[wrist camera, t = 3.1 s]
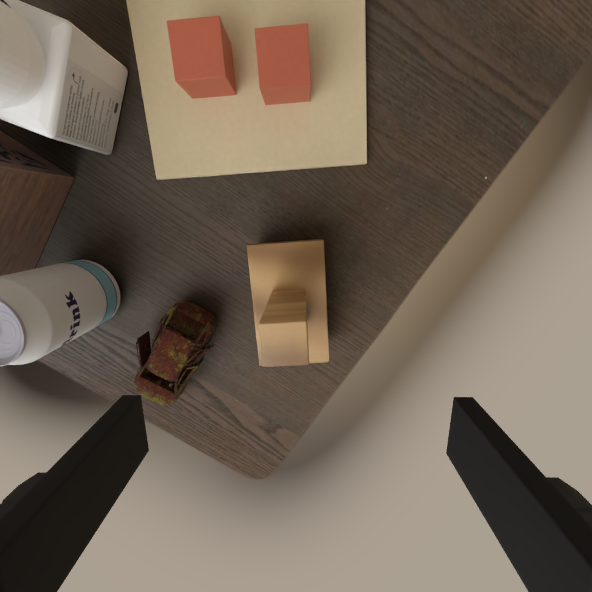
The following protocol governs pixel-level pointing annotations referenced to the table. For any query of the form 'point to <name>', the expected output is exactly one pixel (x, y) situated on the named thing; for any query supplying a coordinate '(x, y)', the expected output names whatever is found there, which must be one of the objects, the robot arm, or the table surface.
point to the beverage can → (52, 307)
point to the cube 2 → (283, 63)
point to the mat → (255, 91)
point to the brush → (289, 302)
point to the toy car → (173, 352)
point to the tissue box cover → (27, 204)
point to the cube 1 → (202, 57)
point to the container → (57, 79)
